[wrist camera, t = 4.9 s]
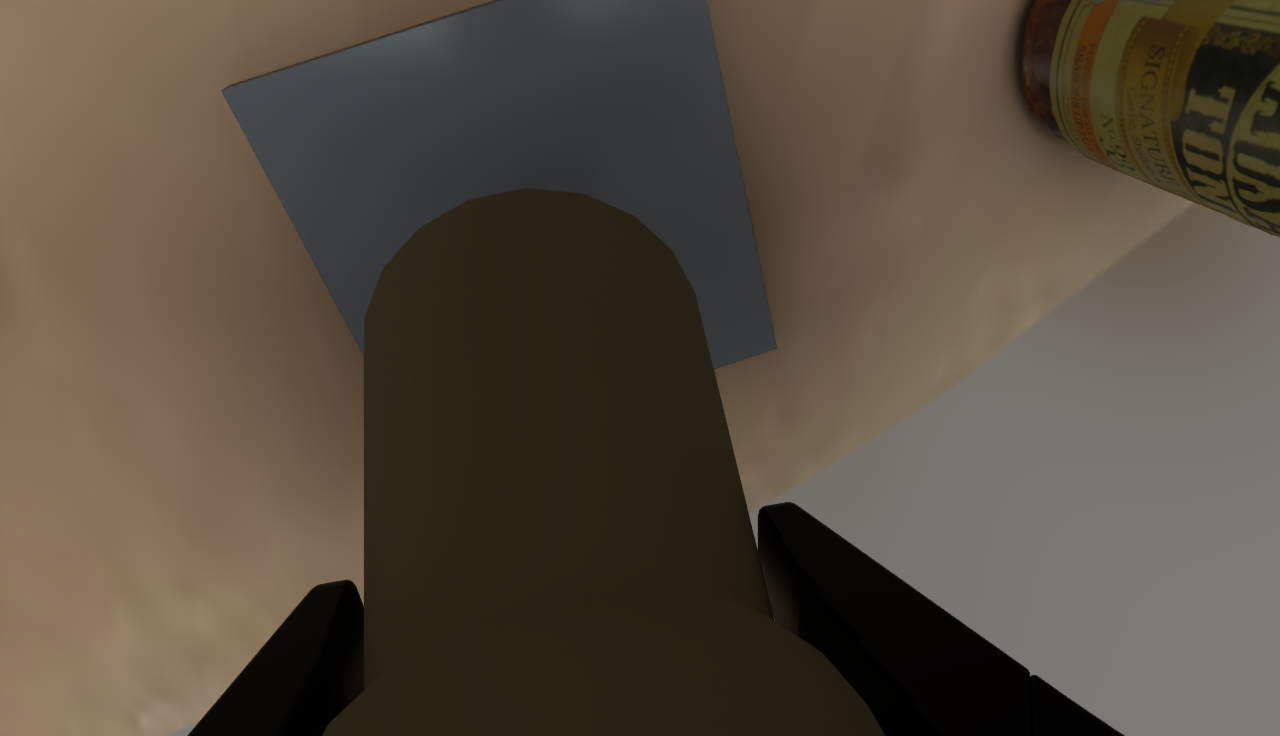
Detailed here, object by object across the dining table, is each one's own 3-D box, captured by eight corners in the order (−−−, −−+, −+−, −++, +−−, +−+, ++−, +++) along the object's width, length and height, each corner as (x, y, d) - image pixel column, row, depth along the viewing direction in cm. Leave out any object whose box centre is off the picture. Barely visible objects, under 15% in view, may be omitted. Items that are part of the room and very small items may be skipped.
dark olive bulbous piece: (766, 301, 14) (1304, 1029, 5) (583, 526, 16) (719, 1361, 7) (475, 112, 12) (434, 846, 2) (300, 404, 14) (-102, 1451, 4)
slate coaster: (687, -62, 18) (693, -61, 17) (770, 339, 24) (776, 348, 23) (228, 85, 18) (221, 89, 17) (423, 452, 23) (422, 464, 23)
